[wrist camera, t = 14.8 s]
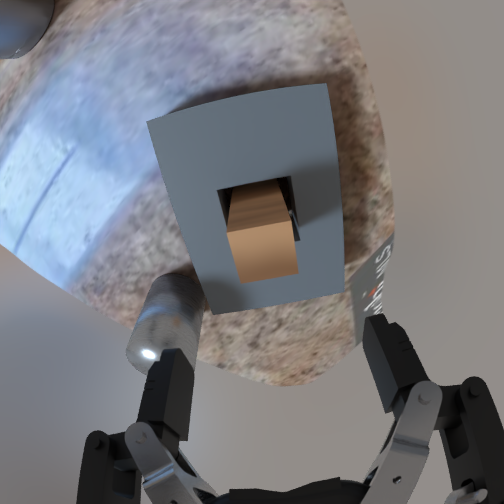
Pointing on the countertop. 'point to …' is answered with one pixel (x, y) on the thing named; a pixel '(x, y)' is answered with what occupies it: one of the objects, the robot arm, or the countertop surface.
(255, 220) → the square peg
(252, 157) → the socket block
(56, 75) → the countertop surface
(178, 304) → the round peg
